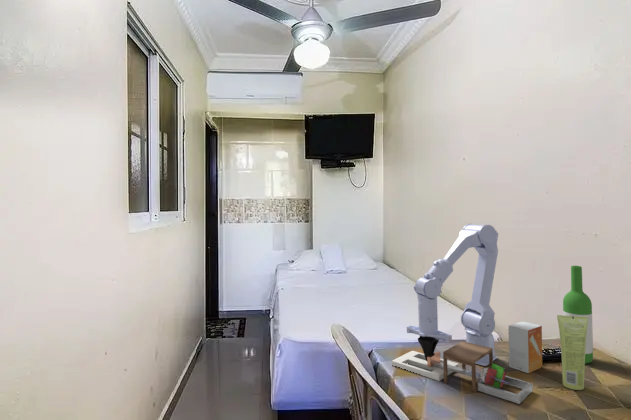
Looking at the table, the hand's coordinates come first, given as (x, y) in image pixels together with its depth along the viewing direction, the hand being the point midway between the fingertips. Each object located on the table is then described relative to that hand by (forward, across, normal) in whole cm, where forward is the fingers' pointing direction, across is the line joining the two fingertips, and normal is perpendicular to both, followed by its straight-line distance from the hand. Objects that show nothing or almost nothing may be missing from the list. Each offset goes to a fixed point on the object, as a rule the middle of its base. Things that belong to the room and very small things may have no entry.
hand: (429, 360), depth 123 cm
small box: (+3, +21, +20) cm, 30 cm away
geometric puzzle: (+3, +20, 0) cm, 21 cm away
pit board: (+2, -2, 0) cm, 3 cm away
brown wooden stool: (+2, +13, 0) cm, 13 cm away
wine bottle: (+3, +31, +38) cm, 49 cm away
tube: (+3, +35, +16) cm, 39 cm away
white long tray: (+2, +15, 0) cm, 15 cm away
